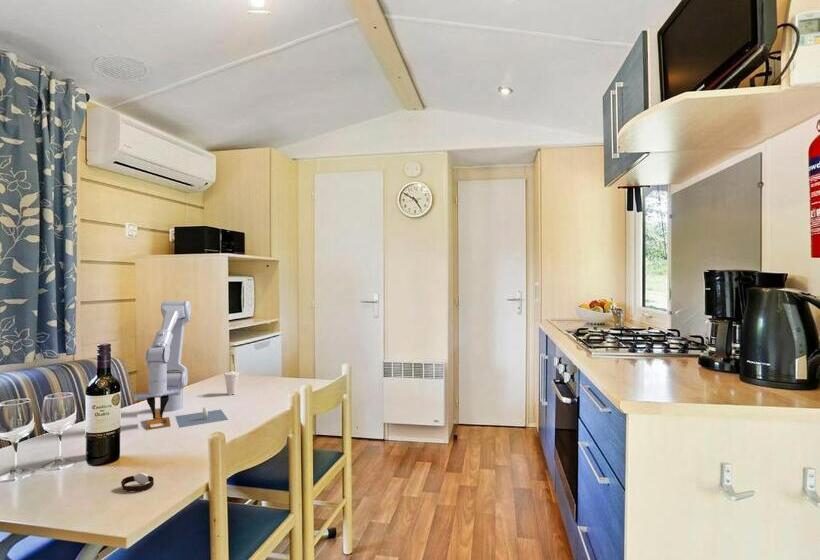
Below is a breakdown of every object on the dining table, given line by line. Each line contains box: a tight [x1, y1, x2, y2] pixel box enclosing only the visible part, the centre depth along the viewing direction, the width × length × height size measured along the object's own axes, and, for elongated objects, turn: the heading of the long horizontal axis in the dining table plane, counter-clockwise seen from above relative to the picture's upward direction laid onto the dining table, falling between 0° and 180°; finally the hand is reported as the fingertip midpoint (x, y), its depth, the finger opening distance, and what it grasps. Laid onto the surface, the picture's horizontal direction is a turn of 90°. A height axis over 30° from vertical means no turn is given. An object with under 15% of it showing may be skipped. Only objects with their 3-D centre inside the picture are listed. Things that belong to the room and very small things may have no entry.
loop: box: [146, 409, 172, 431], centre depth 155 cm, size 12×7×2 cm, turn 33°
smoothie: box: [223, 363, 240, 396], centre depth 200 cm, size 6×6×14 cm
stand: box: [175, 406, 229, 429], centre depth 162 cm, size 15×16×5 cm
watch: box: [120, 472, 155, 492], centre depth 110 cm, size 8×5×4 cm, turn 89°
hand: (157, 417), depth 158 cm, fingers closed on loop
